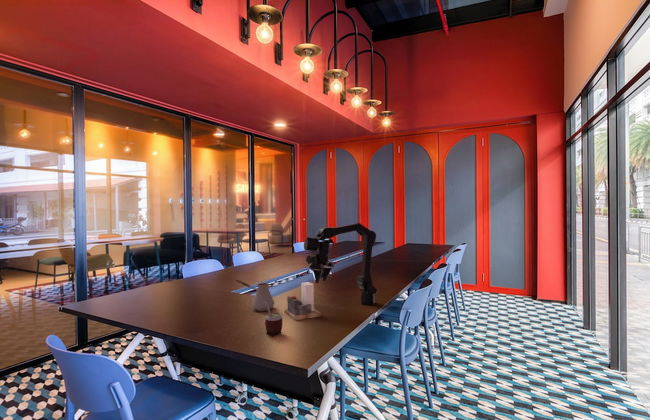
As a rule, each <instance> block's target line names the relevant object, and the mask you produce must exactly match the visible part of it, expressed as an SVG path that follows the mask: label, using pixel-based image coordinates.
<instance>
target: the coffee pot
mask: <svg viewBox="0 0 650 420" xmlns="http://www.w3.org/2000/svg"><path fill="white" fill-rule="evenodd" d="M236 283H239V284H241V285H243V286H246V287H248V288H251V289H253V290H255V291H256V293H255V295H254V297H253V300H252V303H251V306H252V308H253V309H254V310H255V311H258V312H265V311H268V308H267V306H266V304H265V303H264V302H266V303H267V304H268V306H269V310H271V309H272V308H273V307H274V305H275V301H274V298H273V296H272V295H271V292H270V290H269V286H270V283H268V282H261V283H260V282H259V283H256V286H257V288H256V287H253V286H251V285H250V284H248V283H247V282H243V281H241V280H238V279H235V281H234V284H236ZM263 301H264V302H263Z"/></svg>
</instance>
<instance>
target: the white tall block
mask: <svg viewBox="0 0 650 420" xmlns="http://www.w3.org/2000/svg"><path fill="white" fill-rule="evenodd" d="M300 285H301V287H300V289H301V290H300V291H301V292H300V293H301V295H300V296H301V300H300V301H301V304H302V305H307V304H311V311H314V309H315V304H314V302H315V299H314V297H315V296H314V294H315V293H314V292H315V291H314V286H315V285H314V283H312V282H308V281H306V282H301V283H300Z"/></svg>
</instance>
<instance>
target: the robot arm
mask: <svg viewBox="0 0 650 420" xmlns="http://www.w3.org/2000/svg"><path fill="white" fill-rule="evenodd" d="M351 232H356V233H357V234H358V235H359V236H360V237H361V243H362V246H363V248H362V249H363V250H362V261H361V273H360V275H357V276H356V278H357V279H356V283H357V286H358V287H359V289H360V291H361V295H360V303H361V305H365V306H366V305H367V306H374V305H375V304H376V298H375V296H376V293H377V291H378V289H377V288H376V287H375V286H374V285H373V278H372V275H371V271H372V270H371V269H372V266H371V265H372V256H373V255H372V253H373V247H374V245H375V244H376V239H377V233H376V232H375V231H374V230H370V229H369V228H367V227H366V226H364V225H363V224H362V223H360V222H354V223H349V224H345V225H340V226H335V227H334V226H333V227H332V226H331V227H330V226H323V227H320V228H319V229H318V233H317V234H316V235H315V236H314V237H310V236H306V237H305V240H304V242H303V250H304V251H307V252H310V251H311V252H316V253H315V255H314V256H312V255H307V256H306V258H305V262H306V263H307V265H309V267H308V268H309V269H310V271H312V272H313V275H314V281H315V284H319V282H320V280H321V277H322V281H323V282H326V281H327V279H328V277H329V275H330V273H331V272H332V270H333V269H334V268H335V263H334V262H333V261H329V258H330V257H331V253H330V247H331V244H332V245H333V244H335V241H333V239H332V238H334V237H337V236H338V235H341V234H347V233H351Z"/></svg>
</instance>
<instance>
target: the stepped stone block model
mask: <svg viewBox="0 0 650 420" xmlns="http://www.w3.org/2000/svg"><path fill="white" fill-rule="evenodd" d="M286 301H287V309H284V313H285V314H286V315H288V316H289V317H290V318H291V319H292V320H293V321H299V320H306V319H314V318H318V317H322V312H320V311H318V310H317V309H316V308H314V311H311V304H307V305H302V304H301V300H300V299H298V298H297V295H288V296H287V300H286Z"/></svg>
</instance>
